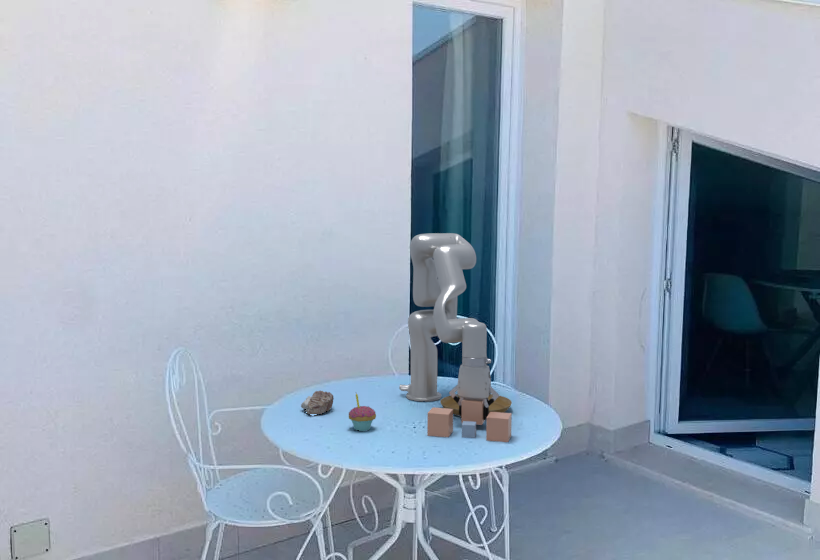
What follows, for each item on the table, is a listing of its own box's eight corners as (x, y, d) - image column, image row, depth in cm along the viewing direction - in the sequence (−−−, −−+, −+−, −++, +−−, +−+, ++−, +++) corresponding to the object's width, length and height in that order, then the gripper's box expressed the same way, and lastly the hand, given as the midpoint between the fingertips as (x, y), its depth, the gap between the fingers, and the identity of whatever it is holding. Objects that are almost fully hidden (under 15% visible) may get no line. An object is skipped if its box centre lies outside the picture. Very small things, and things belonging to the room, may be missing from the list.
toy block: (465, 417, 252) (465, 396, 251) (485, 419, 250) (486, 397, 249) (461, 423, 245) (461, 401, 245) (482, 424, 244) (482, 402, 243)
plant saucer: (430, 404, 275) (430, 395, 275) (492, 399, 283) (493, 390, 282) (456, 423, 252) (456, 413, 252) (524, 416, 260) (524, 407, 260)
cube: (461, 437, 237) (461, 424, 237) (462, 433, 241) (463, 421, 241) (474, 438, 236) (475, 425, 236) (476, 434, 240) (476, 421, 240)
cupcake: (355, 434, 240) (354, 395, 239) (344, 427, 247) (343, 389, 246) (380, 430, 244) (380, 392, 243) (369, 423, 251) (368, 386, 250)
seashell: (304, 397, 274) (318, 374, 271) (327, 410, 275) (341, 388, 272) (295, 416, 260) (310, 392, 257) (320, 430, 261) (335, 406, 258)
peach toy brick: (427, 435, 239) (427, 412, 238) (432, 429, 245) (432, 407, 244) (448, 437, 237) (448, 414, 236) (453, 431, 243) (453, 408, 243)
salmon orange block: (486, 440, 234) (486, 417, 233) (490, 434, 240) (490, 411, 240) (508, 442, 232) (508, 419, 232) (511, 435, 239) (511, 413, 238)
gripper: (503, 361, 247) (503, 416, 249) (449, 358, 252) (449, 412, 254) (500, 365, 240) (499, 423, 242) (444, 362, 244) (444, 419, 246)
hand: (473, 417), depth 248 cm, fingers closed on toy block, 6 cm apart
